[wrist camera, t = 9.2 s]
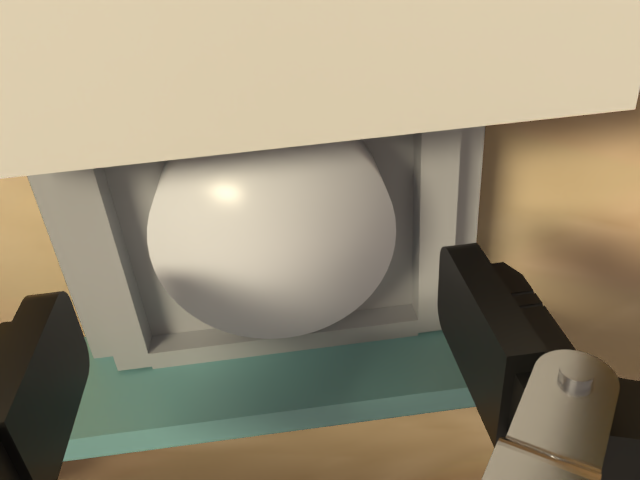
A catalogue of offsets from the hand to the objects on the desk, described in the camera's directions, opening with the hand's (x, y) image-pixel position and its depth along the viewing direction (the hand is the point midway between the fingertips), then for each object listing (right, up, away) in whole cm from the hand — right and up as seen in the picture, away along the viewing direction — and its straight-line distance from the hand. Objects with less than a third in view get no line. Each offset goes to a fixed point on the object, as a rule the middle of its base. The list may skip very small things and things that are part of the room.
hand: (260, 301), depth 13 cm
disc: (0, +2, +3) cm, 4 cm away
